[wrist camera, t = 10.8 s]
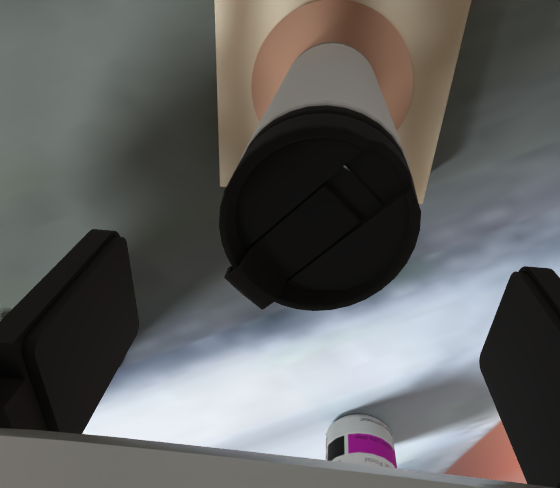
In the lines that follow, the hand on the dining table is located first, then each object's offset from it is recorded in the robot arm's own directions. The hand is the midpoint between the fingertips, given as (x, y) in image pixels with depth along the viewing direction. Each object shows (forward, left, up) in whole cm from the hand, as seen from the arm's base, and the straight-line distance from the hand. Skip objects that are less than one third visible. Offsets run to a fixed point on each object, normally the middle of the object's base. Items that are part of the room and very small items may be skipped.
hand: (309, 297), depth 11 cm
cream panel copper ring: (0, 0, -27) cm, 27 cm away
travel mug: (0, 0, -23) cm, 23 cm away
